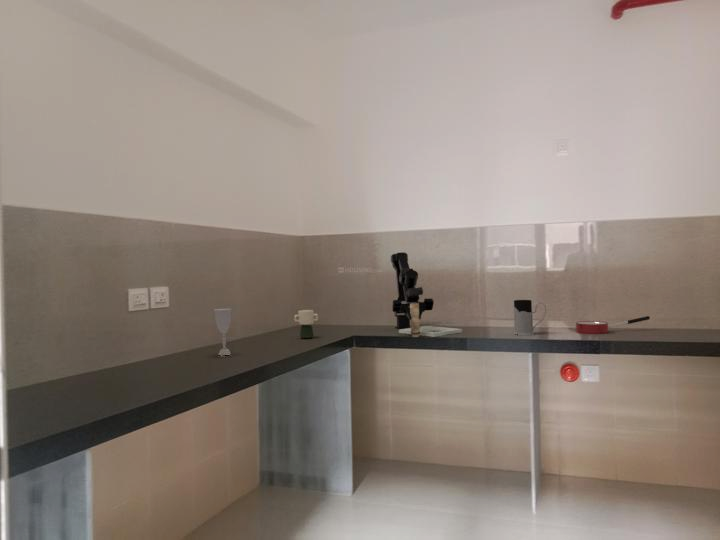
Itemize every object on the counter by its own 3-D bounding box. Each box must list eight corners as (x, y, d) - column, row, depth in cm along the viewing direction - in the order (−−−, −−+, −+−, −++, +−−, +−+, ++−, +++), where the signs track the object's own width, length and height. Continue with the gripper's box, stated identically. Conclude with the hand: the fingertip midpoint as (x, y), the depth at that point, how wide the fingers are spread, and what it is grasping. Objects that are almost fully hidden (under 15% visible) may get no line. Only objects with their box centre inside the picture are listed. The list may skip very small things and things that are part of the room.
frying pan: (636, 327, 244) (636, 314, 244) (655, 331, 231) (655, 316, 231) (570, 331, 240) (570, 317, 240) (586, 335, 227) (585, 320, 227)
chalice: (217, 354, 211) (215, 308, 211) (234, 353, 212) (233, 308, 212) (214, 357, 204) (212, 310, 204) (232, 356, 205) (230, 309, 204)
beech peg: (409, 336, 241) (408, 303, 241) (415, 335, 243) (414, 303, 243) (415, 337, 237) (414, 304, 237) (422, 336, 240) (420, 303, 240)
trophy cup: (318, 336, 252) (317, 309, 252) (319, 338, 245) (318, 310, 245) (294, 337, 251) (293, 310, 251) (295, 340, 244) (294, 311, 244)
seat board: (399, 332, 256) (398, 329, 256) (426, 328, 267) (426, 325, 267) (433, 336, 238) (433, 333, 238) (462, 332, 249) (461, 329, 249)
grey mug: (512, 332, 241) (511, 299, 241) (545, 332, 238) (544, 299, 238) (514, 335, 233) (513, 301, 232) (548, 335, 230) (547, 300, 230)
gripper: (392, 282, 243) (396, 308, 232) (432, 280, 245) (438, 306, 234) (390, 298, 251) (394, 324, 240) (429, 296, 253) (435, 322, 242)
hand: (415, 319), depth 239 cm, fingers closed on beech peg, 4 cm apart
